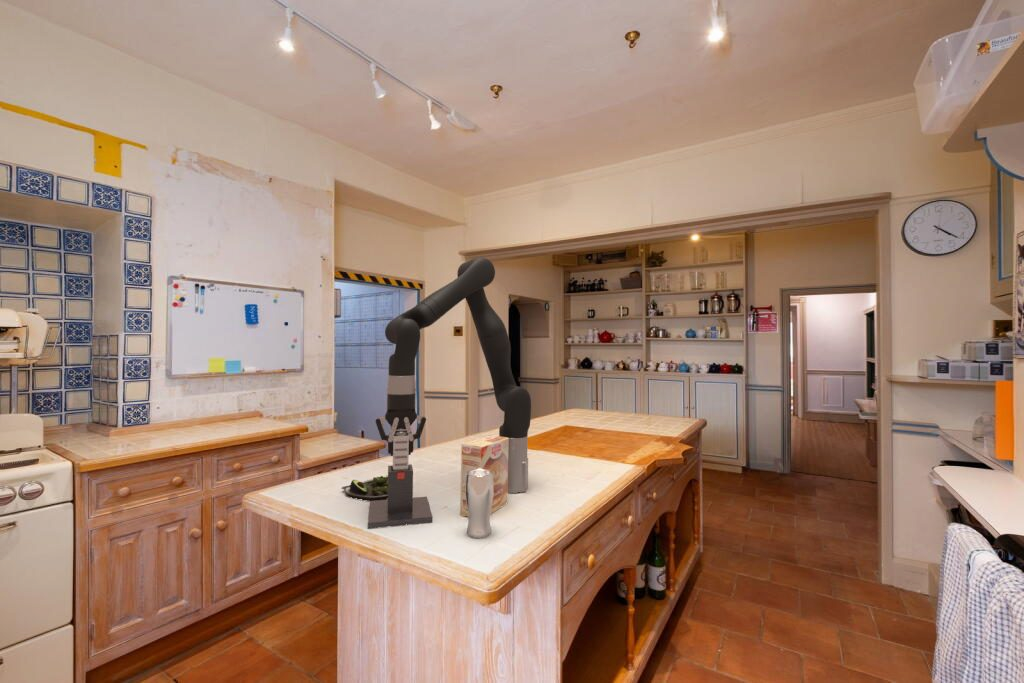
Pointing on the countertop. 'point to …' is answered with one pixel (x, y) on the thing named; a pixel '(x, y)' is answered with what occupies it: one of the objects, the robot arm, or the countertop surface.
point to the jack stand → (399, 503)
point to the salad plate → (368, 489)
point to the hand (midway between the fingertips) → (400, 454)
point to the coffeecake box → (486, 467)
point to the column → (400, 450)
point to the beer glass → (479, 502)
